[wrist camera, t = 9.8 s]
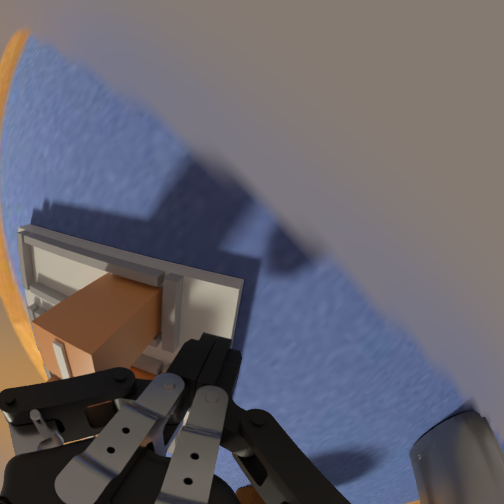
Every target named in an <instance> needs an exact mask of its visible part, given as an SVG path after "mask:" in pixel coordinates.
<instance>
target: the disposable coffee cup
mask: <svg viewBox="0 0 504 504" xmlns="http://www.w3.org/2000/svg"><path fill="white" fill-rule="evenodd" d="M236 496H237V497H238V499H239V501H240V502H241V504H266V503H265V502H264V500H263V499H262V498H261V496H260V495H259V494H258V492H257V491H256V489H255V488H254V487H253V486H249V487H242V488H239V489H238V490H237V491H236Z"/></svg>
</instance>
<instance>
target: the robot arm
mask: <svg viewBox="0 0 504 504" xmlns="http://www.w3.org/2000/svg"><path fill="white" fill-rule="evenodd" d="M231 346H232V339H229V338H225V337H221V336H217V335H213V334H209V333H206V332H203V334H202V335H201V337H200V339H199V340H195V339H190V340H188V341H187V342H185V343H184V344H183V346H182V347H181V349H180V350H179V352H178V354H177V355H176V357H175V358H174V360H173V361H172V363H171V365H170V366H169V368H168V369H167V371H166V373H162V374H159V375H157V376H156V377H155V378H154V379H153V380H146V379H138V378H135V375H134V373H133V372H132V371H131V370H130V369H127V368H124V367H115V368H111V369H107V370H103V371H98V372H94V373H90V374H85V375H81V376H76V377H72V378H67V379H62V380H57V381H51V382H46V383H41V384H35V385H29V386H22V387H16V388H9V389H5V390H3V391H2V392H1V393H0V410H1V411H2V413H3V414H4V416H5V419H6V420H7V422H8V423H9V428H10V433H11V438H12V442H13V447H14V451H15V455H16V456H15V457H13V458H12V459H11V460H10V461H9V462H8V463H7V465H6V468H5V473H4V482H3V488H2V491H1V494H0V504H241V502H240V501H239V499H238V497H237V496H236V494H235V493H234V491H233V490H232V488H231V487H230V486H229V485H228V484H227V483H226V482H225V481H223V480H222V479H221V478H220V477H218V476H216V475H215V474H214V469H215V464H216V460H217V455H218V450H219V445H220V446H222V447H224V448H226V449H227V450H229V451H231V452H232V455H233V457H234V459H235V460H236V462H237V463H238V465H239V466H240V468H241V469H242V471H243V472H244V474H245V475H246V477H247V478H248V480H249V481H250V482H251V484H252V485H253V487H254V488H255V489H256V491H257V492H258V494H259V495H260V496H261V498H262V499H263V500H264V502H265V503H266V504H351V503H350V502H349V501H348V500H347V499H346V498H345V497H344V496H343V495H342V494H341V493H340V492H339V491H338V490H337V489H336V488H335V487H334V486H333V485H332V484H331V483H330V482H329V481H328V480H327V479H326V478H325V477H324V475H323V474H322V473H321V472H320V471H319V470H318V469H317V468H316V467H315V466H314V465H313V463H312V462H311V461H310V460H309V459H308V458H307V457H306V456H305V454H304V453H303V452H302V451H301V450H300V449H299V448H298V446H297V445H296V444H295V443H294V442H293V441H292V439H291V438H290V437H289V436H288V435H287V433H286V432H285V431H284V430H283V429H282V427H281V426H280V425H279V424H278V422H277V421H276V420H275V419H274V417H273V416H272V415H271V414H270V413H268V412H267V411H264V410H261V409H251V410H248V411H246V410H244V409H242V408H240V407H239V406H237V405H236V404H235V403H234V401H233V400H232V396H233V392H234V389H235V386H236V382H237V379H238V375H239V370H240V365H241V360H242V357H241V353H240V351H237V350H233V349H231ZM108 401H110V402H108ZM104 402H106V403H104ZM100 403H103V404H100ZM96 404H99V405H96ZM93 405H95V406H93ZM89 406H91V407H89ZM187 411H188V412H189V415H188V418H187V421H186V424H185V426H183V427H182V429H181V431H180V434H179V437H178V440H177V443H176V446H175V449H174V452H173V455H172V458H170V457H166V453H167V450H168V448H169V447H170V445H171V443H172V442H173V440H174V438H175V436H176V435H177V433H178V431H179V430H180V428H181V426H182V424H183V422H184V417H185V415H186V413H187ZM98 434H99V435H98ZM95 435H98V436H96V437H91V436H95ZM87 437H91V438H87ZM83 438H87V439H84V440H80V441H77V442H73V443H69V444H65V445H63V443H66V442H70V441H74V440H79V439H83ZM410 459H411V463H412V467H413V471H414V475H415V479H416V485H417V489H418V494H419V499H420V504H504V454H503V451H502V449H501V447H500V445H499V443H498V441H497V439H496V437H495V435H494V433H493V431H492V429H491V427H490V425H489V423H488V421H487V420H486V418H485V417H483V418H481V416H480V414H479V413H478V412H475V411H469V412H465V413H461V414H459V415H456V416H454V417H452V418H450V419H448V420H446V421H444V422H443V423H441V424H439V425H438V426H436V427H435V428H433V429H432V430H430V431H429V432H428V433H426V434H425V435H424V436H423V437H422V438H421V439H420V440H419V441H417V442H416V444H415V445H414V446H413V447H412V449H411V451H410Z"/></svg>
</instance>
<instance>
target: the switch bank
mask: <svg viewBox="0 0 504 504" xmlns="http://www.w3.org/2000/svg"><path fill="white" fill-rule="evenodd" d="M17 241H18V253H19V262H20V269H21V276H22V283H23V288H24V289H25V292H26V297H27V302H28V307H27V309H28V313H29V318H30V322H31V321H33V320H34V319H36V318H37V317H39V316H40V315H42V314H43V313H45V312H46V311H48V310H49V309H51V308H52V307H54V306H55V305H57V304H58V303H60V302H61V301H63V300H65V299H66V298H68V297H69V296H71V295H72V294H74V293H76V292H77V291H79V290H80V289H82V288H84V287H85V286H87V285H88V284H90V283H92V282H93V281H95V280H97V279H98V278H100V277H102V276H103V275H105V274H107V273H108V272H109V273H112V274H115V275H119V276H122V277H125V278H128V279H132V280H135V281H138V282H142V283H145V284H148V285H152V286H155V287H159V288H162V298H161V330H160V331H159V333H158V334H157V335H156V336H155V337H154V339H153V340H152V341H151V342H150V344H149V345H148V346H147V347H146V348H145V350H144V351H143V352H142V353H141V355H140V356H139V357H138V358H137V360H136V361H135V362H134V363H133V365H132V366H134V367H136V368H139V369H141V370H144V371H147V372H149V373H152V374H155V375H158V374H159V373H161V374H162V373H166V371H167V369H168V368H169V366H170V365H171V363H172V361H173V360H174V358H175V357H176V355H177V354H178V352H179V350H180V349H181V347H182V346H183V344H184V343H185V342H187V341H188V340H190V339H195V340H199V339H200V337H201V335H202V334H203V332H206V333H209V334H213V335H217V336H221V337H225V338H229V339H232V345H233V339H234V333H235V328H236V322H237V317H238V311H239V306H240V300H241V294H242V289H243V283H244V279H240V278H236V277H231V276H227V275H223V274H218V273H214V272H210V271H205V270H201V269H197V268H193V267H189V266H185V265H180V264H176V263H172V262H168V261H164V260H160V259H156V258H152V257H148V256H144V255H140V254H136V253H133V252H129V251H125V250H121V249H117V248H114V247H110V246H106V245H102V244H99V243H95V242H91V241H88V240H84V239H80V238H77V237H73V236H70V235H66V234H63V233H59V232H56V231H52V230H49V229H45V228H42V227H39V226H35V225H32V224H28V225H25V226H21V227H18V232H17ZM31 326H32V322H31ZM32 330H33V333H34V329H33V326H32ZM34 337H35V333H34ZM35 340H36V337H35ZM36 344H37V340H36ZM37 347H38V344H37ZM231 349H232V346H231ZM38 350H39V347H38ZM39 351H40V350H39ZM43 366H44V364H43ZM44 368H45V366H44ZM45 371H46V374H47V377H48V379H50V378H51V377H52V376H53V375H55V374H53V373H52V372H50V371H49V370H47V369H46V368H45ZM55 376H56V377H58V376H57V375H55ZM58 378H59V379H61V378H60V377H58ZM61 380H62V379H61ZM188 415H189V412H188V411H187V413H186V415H185V417H184V422H183V424H182V426H181V428H180V430H179V431H178V433H177V435H176V436H175V438H174V440H173V442H172V443H171V445H170V447H169V448H168V452H169V453H171V454H173V452H174V449H175V446H176V443H177V440H178V437H179V434H180V431H181V429H182V427H183V426H185V424H186V421H187V418H188Z"/></svg>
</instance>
